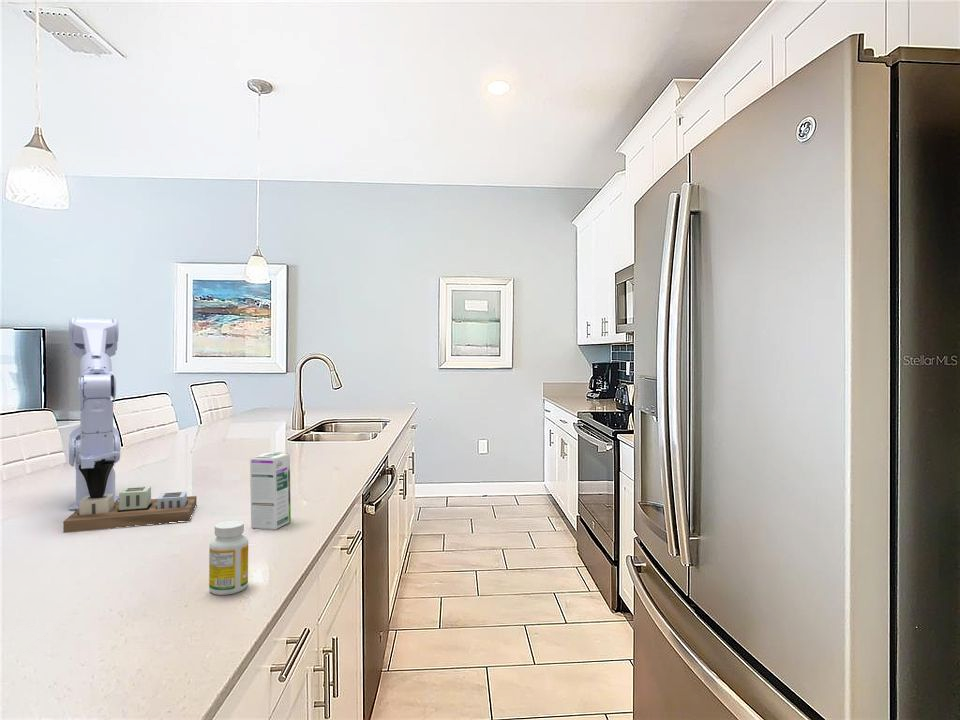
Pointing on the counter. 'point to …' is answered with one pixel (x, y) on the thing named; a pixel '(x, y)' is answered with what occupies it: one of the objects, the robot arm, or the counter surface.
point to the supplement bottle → (228, 559)
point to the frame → (129, 517)
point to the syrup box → (270, 490)
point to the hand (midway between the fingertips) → (97, 497)
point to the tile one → (96, 505)
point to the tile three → (172, 500)
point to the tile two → (134, 498)
